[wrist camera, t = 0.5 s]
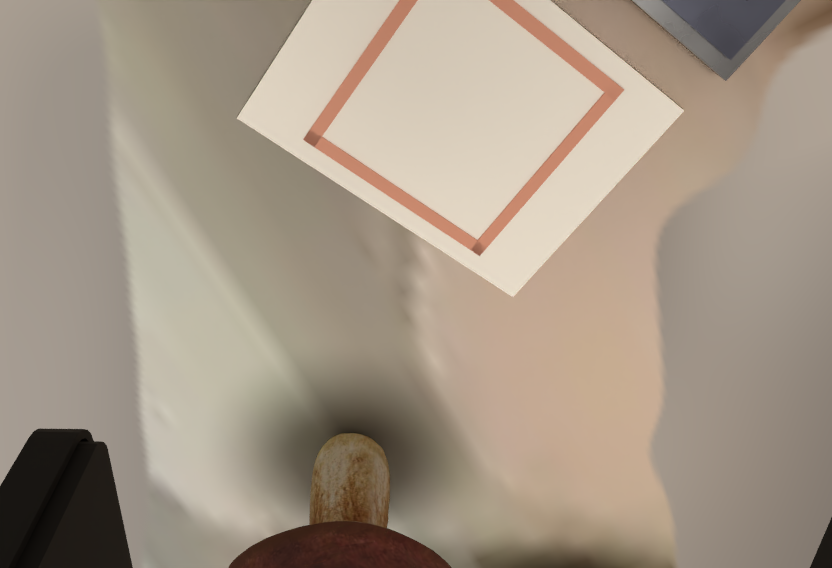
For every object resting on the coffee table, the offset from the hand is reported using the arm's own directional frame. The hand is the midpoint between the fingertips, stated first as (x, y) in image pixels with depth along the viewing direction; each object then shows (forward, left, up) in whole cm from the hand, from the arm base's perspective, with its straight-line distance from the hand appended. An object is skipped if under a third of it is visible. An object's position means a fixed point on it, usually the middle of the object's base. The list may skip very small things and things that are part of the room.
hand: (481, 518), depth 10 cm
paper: (+2, +4, -27) cm, 27 cm away
